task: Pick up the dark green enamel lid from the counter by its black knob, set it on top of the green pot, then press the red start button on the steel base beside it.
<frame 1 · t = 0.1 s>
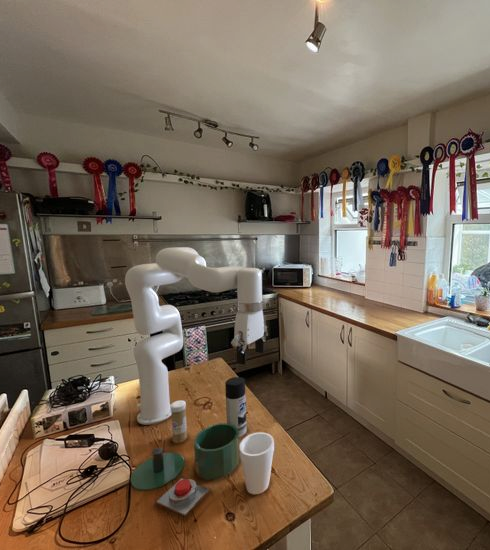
hand: (251, 357, 95), 31 cm above the counter, tool pointing down, fingers open, 9 cm apart
start button: (182, 487, 78), point 3 cm above the counter, slide at 0.1 cm
green pot: (217, 464, 90), on the counter
sprinkles bottle: (180, 440, 101), on the counter
foam cup: (257, 485, 83), on the counter
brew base: (183, 499, 78), on the counter
pot lid: (158, 470, 87), point 1 cm above the counter
spray can: (236, 433, 105), on the counter
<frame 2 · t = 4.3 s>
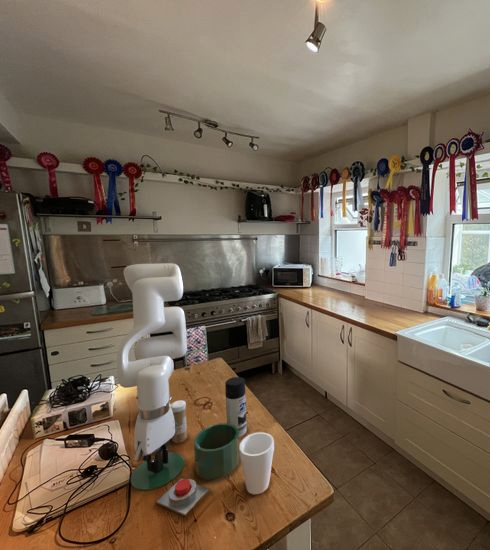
hand: (158, 466, 86), 2 cm above the counter, tool pointing down, fingers closed on pot lid, 2 cm apart
pot lid: (158, 470, 87), point 1 cm above the counter, touching gripper
everything else where it was.
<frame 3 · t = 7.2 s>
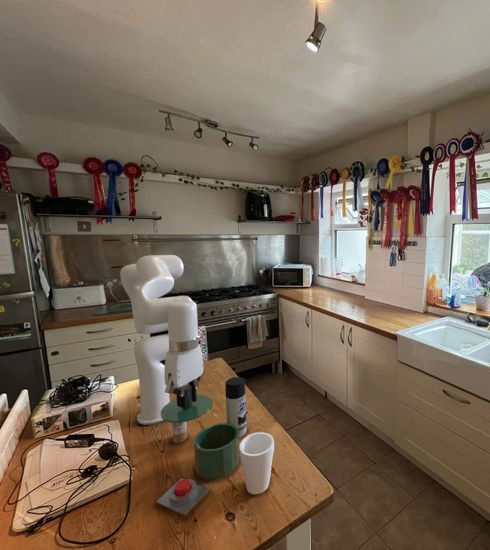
hand: (187, 403, 86), 21 cm above the counter, tool pointing down, fingers closed on pot lid, 2 cm apart
pot lid: (187, 408, 86), point 20 cm above the counter, touching gripper
everything else where it was.
when the fingers open (11 cm above the counter, at t = 10.5 s): pot lid stays where it is, resting on green pot.
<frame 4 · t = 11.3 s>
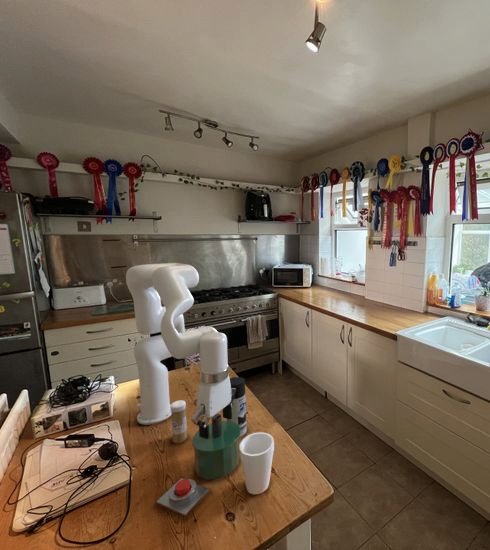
hand: (216, 427, 89), 12 cm above the counter, tool pointing down, fingers open, 9 cm apart
pot lid: (217, 436, 89), point 9 cm above the counter, touching green pot
everything else where it was.
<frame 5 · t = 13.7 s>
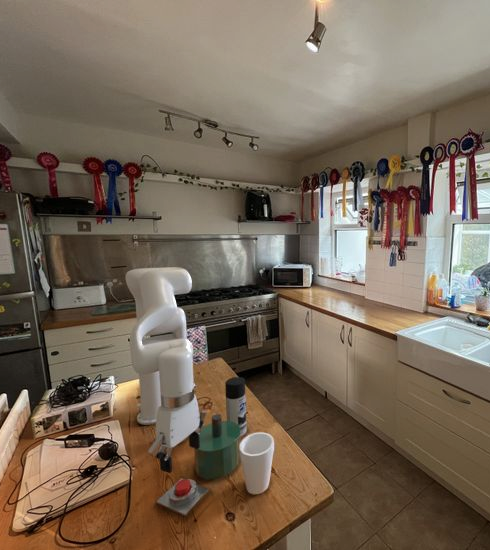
hand: (181, 458, 77), 12 cm above the counter, tool pointing down, fingers open, 8 cm apart
nothing on the counter moved.
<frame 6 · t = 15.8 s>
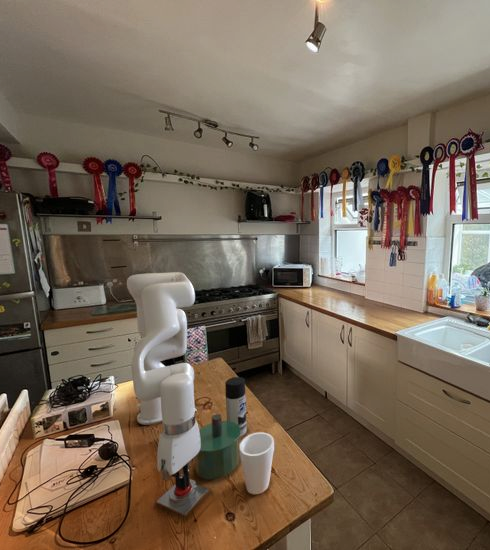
hand: (182, 486, 78), 4 cm above the counter, tool pointing down, fingers closed
start button: (182, 488, 78), point 3 cm above the counter, slide at -0.3 cm, touching gripper
everything else where it was.
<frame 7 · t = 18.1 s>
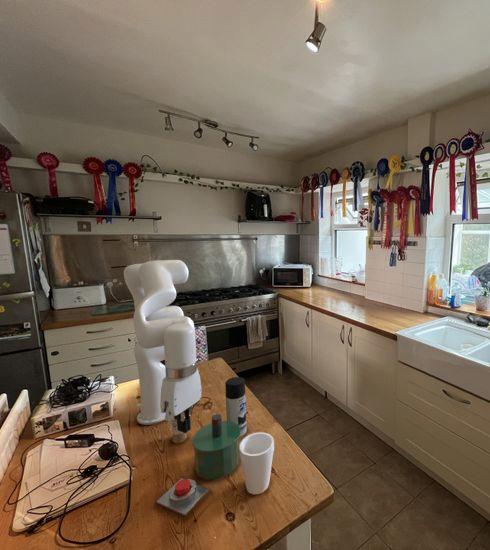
hand: (184, 430, 82), 16 cm above the counter, tool pointing down, fingers closed
start button: (182, 487, 78), point 3 cm above the counter, slide at 0.1 cm
everything else where it was.
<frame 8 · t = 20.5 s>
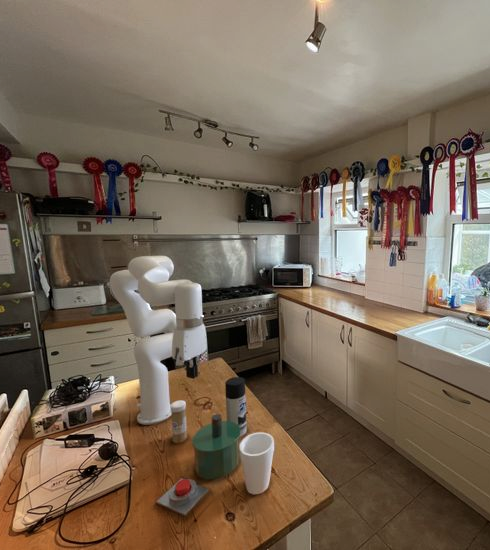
hand: (192, 376, 94), 25 cm above the counter, tool pointing down, fingers closed
nothing on the counter moved.
at the end: pot lid 0.1 cm off-centre on the green pot, point 9.5 cm above the green pot's base; start button pushed in 1.1 cm at the most during the clip and back out by the end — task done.
